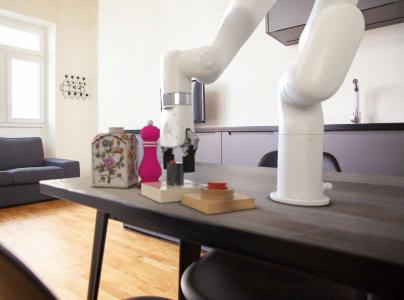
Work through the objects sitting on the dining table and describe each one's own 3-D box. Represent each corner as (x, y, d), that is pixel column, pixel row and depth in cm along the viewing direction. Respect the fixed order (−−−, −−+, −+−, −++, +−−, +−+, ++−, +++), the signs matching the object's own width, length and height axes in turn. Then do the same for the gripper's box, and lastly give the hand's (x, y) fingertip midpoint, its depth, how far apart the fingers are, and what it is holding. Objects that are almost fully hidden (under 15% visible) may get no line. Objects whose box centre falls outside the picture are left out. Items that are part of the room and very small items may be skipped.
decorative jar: (139, 182, 96) (139, 127, 95) (128, 188, 85) (128, 126, 84) (105, 181, 99) (105, 127, 98) (90, 187, 87) (89, 126, 86)
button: (218, 187, 67) (218, 179, 67) (230, 190, 63) (230, 182, 63) (204, 188, 65) (204, 180, 65) (215, 191, 61) (215, 183, 61)
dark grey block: (187, 184, 73) (187, 161, 73) (171, 186, 71) (171, 162, 71) (178, 182, 77) (178, 160, 77) (163, 183, 75) (163, 160, 75)
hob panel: (186, 190, 83) (186, 179, 82) (210, 197, 73) (210, 185, 72) (141, 194, 76) (141, 182, 76) (160, 203, 66) (160, 189, 66)
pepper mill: (162, 189, 84) (162, 119, 83) (137, 188, 84) (137, 119, 83) (161, 184, 92) (162, 120, 91) (138, 184, 92) (138, 120, 91)
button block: (223, 198, 71) (224, 182, 71) (254, 208, 62) (254, 189, 62) (181, 203, 66) (181, 186, 66) (208, 214, 57) (208, 194, 57)
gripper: (148, 106, 79) (150, 168, 80) (181, 97, 64) (183, 175, 65) (172, 106, 83) (174, 167, 83) (210, 98, 67) (211, 172, 68)
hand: (178, 170), depth 74 cm, fingers open, 9 cm apart
